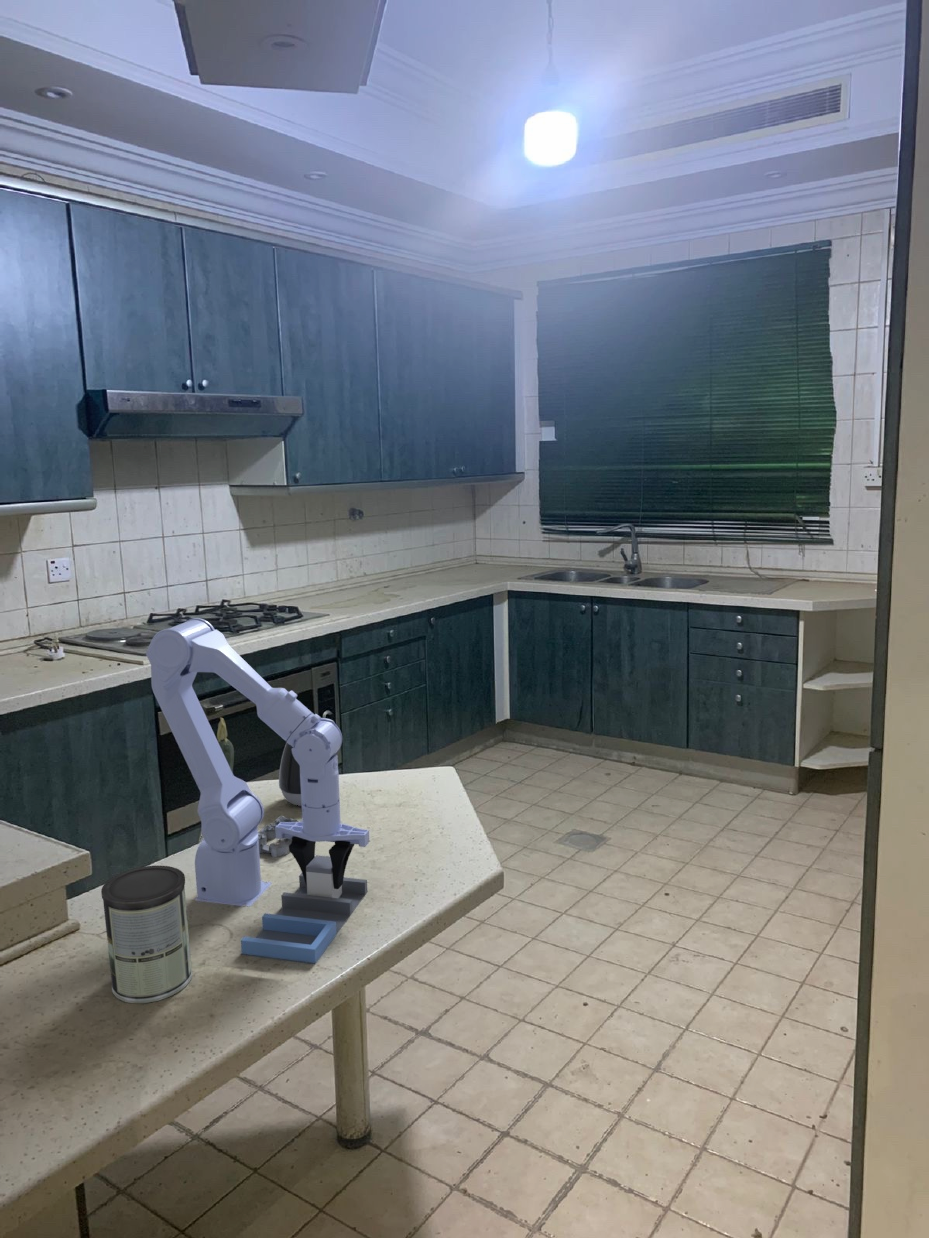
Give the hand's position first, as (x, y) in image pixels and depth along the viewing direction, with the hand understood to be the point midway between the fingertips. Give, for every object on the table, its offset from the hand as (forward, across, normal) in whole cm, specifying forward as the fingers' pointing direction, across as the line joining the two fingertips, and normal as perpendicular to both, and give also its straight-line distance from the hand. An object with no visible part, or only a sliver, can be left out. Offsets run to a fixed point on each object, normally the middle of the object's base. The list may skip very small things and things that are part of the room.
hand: (324, 884), depth 141 cm
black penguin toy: (+3, +20, -38) cm, 42 cm away
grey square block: (+2, 0, 0) cm, 2 cm away
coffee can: (+3, +14, +24) cm, 29 cm away
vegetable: (+3, +30, -26) cm, 40 cm away
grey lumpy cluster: (+4, +16, -18) cm, 24 cm away
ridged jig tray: (+3, 0, +6) cm, 7 cm away
